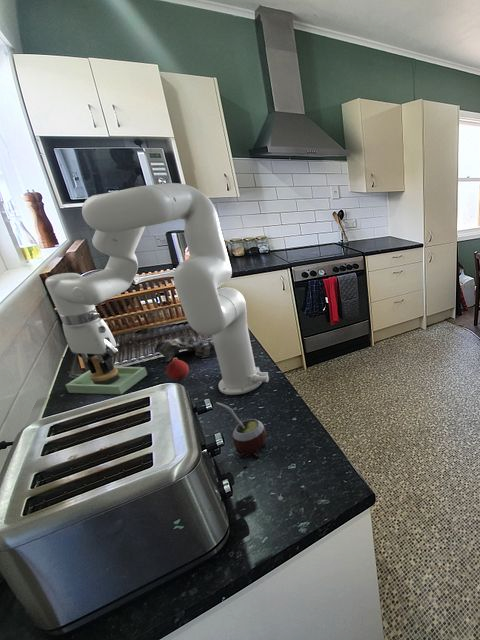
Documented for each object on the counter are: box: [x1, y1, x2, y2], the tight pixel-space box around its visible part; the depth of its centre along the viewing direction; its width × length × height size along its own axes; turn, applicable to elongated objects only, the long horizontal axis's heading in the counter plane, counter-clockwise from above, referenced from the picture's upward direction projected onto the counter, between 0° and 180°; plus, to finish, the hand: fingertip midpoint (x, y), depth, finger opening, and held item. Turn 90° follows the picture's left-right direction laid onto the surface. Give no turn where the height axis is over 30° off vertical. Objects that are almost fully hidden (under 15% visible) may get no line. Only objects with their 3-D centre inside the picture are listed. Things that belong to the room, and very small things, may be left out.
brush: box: [90, 354, 119, 385], centre depth 106 cm, size 6×6×8 cm
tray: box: [64, 365, 148, 395], centre depth 107 cm, size 16×11×3 cm
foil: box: [154, 335, 214, 363], centre depth 123 cm, size 12×11×15 cm
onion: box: [165, 357, 190, 381], centre depth 109 cm, size 6×6×8 cm
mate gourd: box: [215, 401, 267, 460], centre depth 82 cm, size 8×8×15 cm
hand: (102, 370), depth 106 cm, fingers closed on brush, 2 cm apart
